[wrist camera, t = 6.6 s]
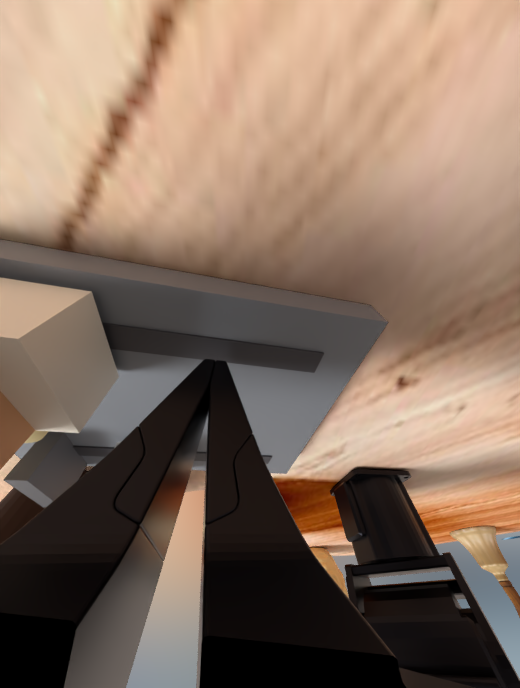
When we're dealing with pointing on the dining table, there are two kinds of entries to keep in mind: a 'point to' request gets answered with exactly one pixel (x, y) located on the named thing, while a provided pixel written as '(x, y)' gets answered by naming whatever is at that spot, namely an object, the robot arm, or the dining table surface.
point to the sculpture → (330, 566)
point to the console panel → (193, 356)
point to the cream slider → (49, 361)
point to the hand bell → (487, 555)
